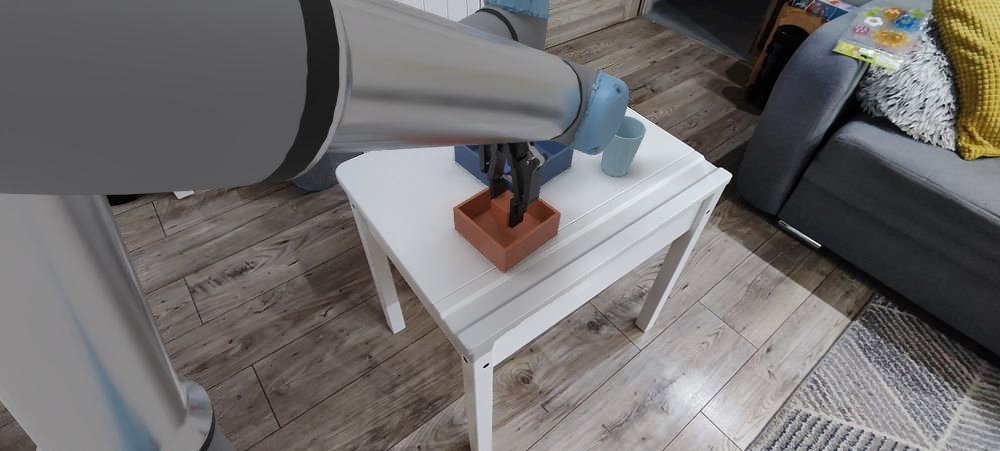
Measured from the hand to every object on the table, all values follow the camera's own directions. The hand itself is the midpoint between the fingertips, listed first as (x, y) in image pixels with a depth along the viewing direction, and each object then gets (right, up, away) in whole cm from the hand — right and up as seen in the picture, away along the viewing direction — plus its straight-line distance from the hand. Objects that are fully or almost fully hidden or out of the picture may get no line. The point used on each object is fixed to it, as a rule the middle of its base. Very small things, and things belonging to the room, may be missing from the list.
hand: (506, 216), depth 80 cm
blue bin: (+2, +11, +16) cm, 19 cm away
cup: (+23, +10, +16) cm, 29 cm away
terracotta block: (0, 0, 0) cm, 0 cm away
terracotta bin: (0, -3, +3) cm, 4 cm away
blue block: (0, +8, +12) cm, 14 cm away
